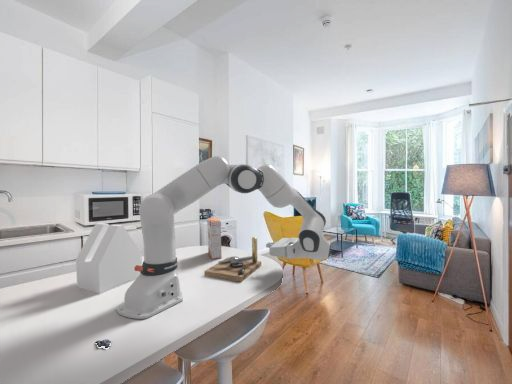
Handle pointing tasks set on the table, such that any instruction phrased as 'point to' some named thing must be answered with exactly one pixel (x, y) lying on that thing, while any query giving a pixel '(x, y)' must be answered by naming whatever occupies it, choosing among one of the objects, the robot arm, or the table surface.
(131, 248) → the milk carton
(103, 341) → the blueberries
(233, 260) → the capstan
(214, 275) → the stand
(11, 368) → the table surface
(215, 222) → the cracker box
